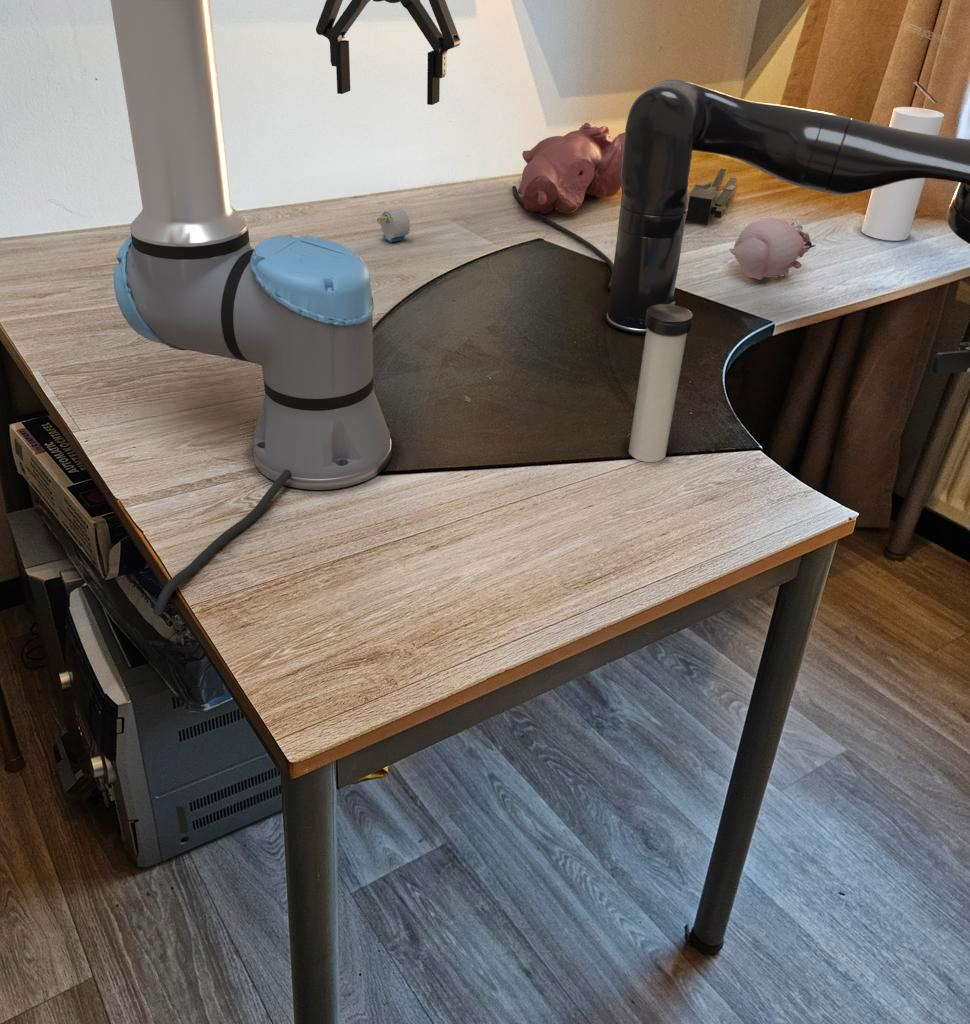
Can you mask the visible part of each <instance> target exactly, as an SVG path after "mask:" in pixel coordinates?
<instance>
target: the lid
mask: <svg viewBox="0 0 970 1024" xmlns="http://www.w3.org/2000/svg"><path fill="white" fill-rule="evenodd" d="M693 316H694V315H693V313H692V311H691V310H689V309H687V308H686V307H683V306H680V305H676V304H675V305H670V304H658V305H653V306H650V307H649V308H648V309H647V312H646V319H645V326H646V327H647V328H648V329H649V330H651V331H653V332H655V333H659V334H663V335H682V334H686V333H687V334H688V333H689V332H690V331H691V327H692V322H693Z"/></svg>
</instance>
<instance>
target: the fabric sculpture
mask: <svg viewBox="0 0 970 1024" xmlns="http://www.w3.org/2000/svg"><path fill="white" fill-rule="evenodd" d="M610 130H611V129H610V127H608V126H607V125H605V126H604V125H602V126H600V127H598V126H592V125H591V124H590V123H589V122H585V123H584V124H581V126H580V127H579V129H576V130H573V131H570V132H568V133H566V134H565V135H554V136H549V137H546V138H544V139H542V140H540V141H539V142H538V143H536V145H535V146H534V147H532V148H531V149H529V150H523V151H522V153H521V156H522V158H523V160H524V162H525V163H526V164H525V166H524V168H523V170H522V172H521V173H522V174H521V180H520V181H521V182H520V185H519V186H518V188H517V191H518V194H519V195H520V197H521V201H522V202H523V204H524V207H525V208H526V209H525V208H524V207H523V208H524V209H525V210H527V211H528V209H529V210H530V211H533V212H538V213H540V214H546V213H549V212H551V211H552V210H553V209H554V208H555V209H556V210H557V211H559V212H560V213H564V214H569V213H573V212H575V211H578V209H579V208H581V206H582V203H584V199H585V195H591V196H593V197H596V198H599V197H604V198H606V197H608V198H610V197H613V196H614V195H617V194H618V192H619V191H620V189H621V167H622V157H623V146H624V136H625V131H624V132H621V133H618V135H617V136H615V137H614V138H612V137H611V136H610V135H609V134H610Z"/></svg>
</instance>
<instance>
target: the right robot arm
mask: <svg viewBox="0 0 970 1024" xmlns="http://www.w3.org/2000/svg"><path fill="white" fill-rule="evenodd" d="M628 111H629V112H628V114H627V118H626V123H625V127H624V128H625V130H624V132H625V136H624V146H623V157H622V167H621V187H620V189H621V202H620V210H619V218H618V226H617V235H616V243H615V251H614V259H613V261H612V260H611V259H610V257H608V256H607V255H606V254H605V253H603V252H602V250H600V249H599V248H598V247H596V246H595V245H593V244H592V243H591V242H589V241H587V240H586V239H584V238H582V237H581V236H579V235H578V234H576V233H575V232H573V231H571V230H570V229H567V228H566V227H564V226H562V225H560V224H558V223H557V222H555V221H553V220H552V219H550V218H548V217H547V216H544V215H543V214H542V213H538V212H533V211H530V210H529V209H528V210H527V209H526V208H525V207H524V204H523V202H522V201H521V195H520V194H518V188H517V186H516V185H513V186H511V188H512V191H513V196H514V198H515V199H516V200H517V202H518V203H519V204H520V205H521V206H522V207H523V208H524V209H525V210H527V212H529V213H531V215H533V216H535V217H536V218H538V219H540V220H541V221H543V222H544V223H546V224H547V225H549V226H551V227H553V228H554V229H557V230H558V231H560V232H562V233H564V234H565V235H567V236H569V237H571V239H574V240H575V241H577V242H579V243H580V244H582V245H583V246H585V247H587V248H588V249H589V250H591V251H592V252H593V253H595V254H596V255H597V256H598V257H599V258H601V260H603V261H604V262H605V264H607V266H608V267H609V268H610V272H611V275H610V280H609V282H608V286H607V288H608V290H609V292H610V293H609V298H608V306H607V312H606V317H605V319H606V322H607V324H608V325H610V326H611V328H614V329H616V330H618V331H622V332H625V333H630V334H636V335H646V329H647V327H646V326H645V319H646V312H647V309H648V308H649V307H650V306H653V305H658V304H670V305H676V301H675V300H674V296H675V289H676V285H677V284H676V283H677V277H678V270H679V265H680V258H681V253H682V246H683V241H684V233H685V228H686V222H687V221H686V215H687V209H688V203H689V197H690V192H691V191H690V187H689V182H690V181H689V179H690V172H691V166H692V165H691V164H692V158H693V152H701V153H708V154H714V155H719V156H724V157H727V158H731V159H735V160H738V161H741V162H743V163H745V164H747V165H749V166H751V167H753V168H755V169H757V170H759V171H761V172H762V173H764V174H765V175H766V174H767V175H768V176H770V177H772V178H774V179H777V180H779V181H781V182H784V183H785V184H788V185H792V186H796V187H799V188H803V189H807V190H812V191H816V192H821V193H825V194H828V195H834V196H851V195H855V194H860V193H863V192H868V191H872V189H875V188H879V187H882V186H885V185H889V184H892V183H896V182H900V181H904V180H910V179H920V178H925V179H931V180H941V181H949V182H955V183H958V186H957V187H956V190H955V192H954V195H953V196H952V199H951V202H950V204H949V207H948V209H947V212H946V222H947V225H948V227H949V229H950V231H952V233H954V235H956V236H957V237H958V238H960V239H961V240H962V241H964V242H965V243H967V244H969V245H970V139H969V138H960V137H952V136H943V135H938V136H937V135H929V134H923V133H917V132H912V131H906V130H901V129H896V128H891V127H889V126H886V125H881V124H878V123H877V124H876V123H873V122H869V121H864V120H860V119H857V118H853V117H852V118H851V117H849V116H844V115H839V114H834V113H829V112H825V111H819V110H812V109H806V108H799V107H795V106H788V105H781V104H773V103H763V102H757V101H756V102H755V101H750V100H746V99H742V98H738V97H735V96H732V95H728V94H725V93H724V92H723V93H722V92H719V91H717V90H713V89H710V88H708V87H705V86H702V85H699V84H697V83H694V82H690V81H688V80H684V79H679V78H672V79H671V78H670V79H665V80H661V81H659V82H657V83H655V84H653V85H652V86H651V87H649V88H648V89H646V90H644V91H643V92H642V93H641V94H639V96H638V97H636V99H635V100H634V101H633V102H632V105H631V106H630V109H629V110H628ZM932 372H933V373H934V374H937V375H949V374H960V373H970V342H961V343H959V346H958V350H952V351H941V352H937V353H936V354H935V355H934V357H933V365H932Z"/></svg>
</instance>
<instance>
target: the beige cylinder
mask: <svg viewBox="0 0 970 1024" xmlns="http://www.w3.org/2000/svg"><path fill="white" fill-rule="evenodd" d="M644 335H645V336H644V342H643V349H642V356H641V361H640V362H641V364H640V370H639V375H638V376H639V377H638V383H637V390H636V395H635V396H636V397H635V403H634V408H633V409H634V411H633V417H632V423H631V429H630V436H629V444H628V454H629V455H630V456H631V457H632V458H634V459H635V460H637V461H640V462H644V463H658V462H661V461H662V460H664V459H665V458H666V456H667V450H668V446H669V440H670V433H671V429H672V422H673V417H674V410H675V407H676V406H675V405H676V399H677V393H678V388H679V382H680V377H681V371H682V366H683V359H684V354H685V348H686V342H687V338H688V333H686V334H682V335H663V334H659V333H655V332H653V331H651V330H649V329H648V328H647V329H646V334H644Z"/></svg>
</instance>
